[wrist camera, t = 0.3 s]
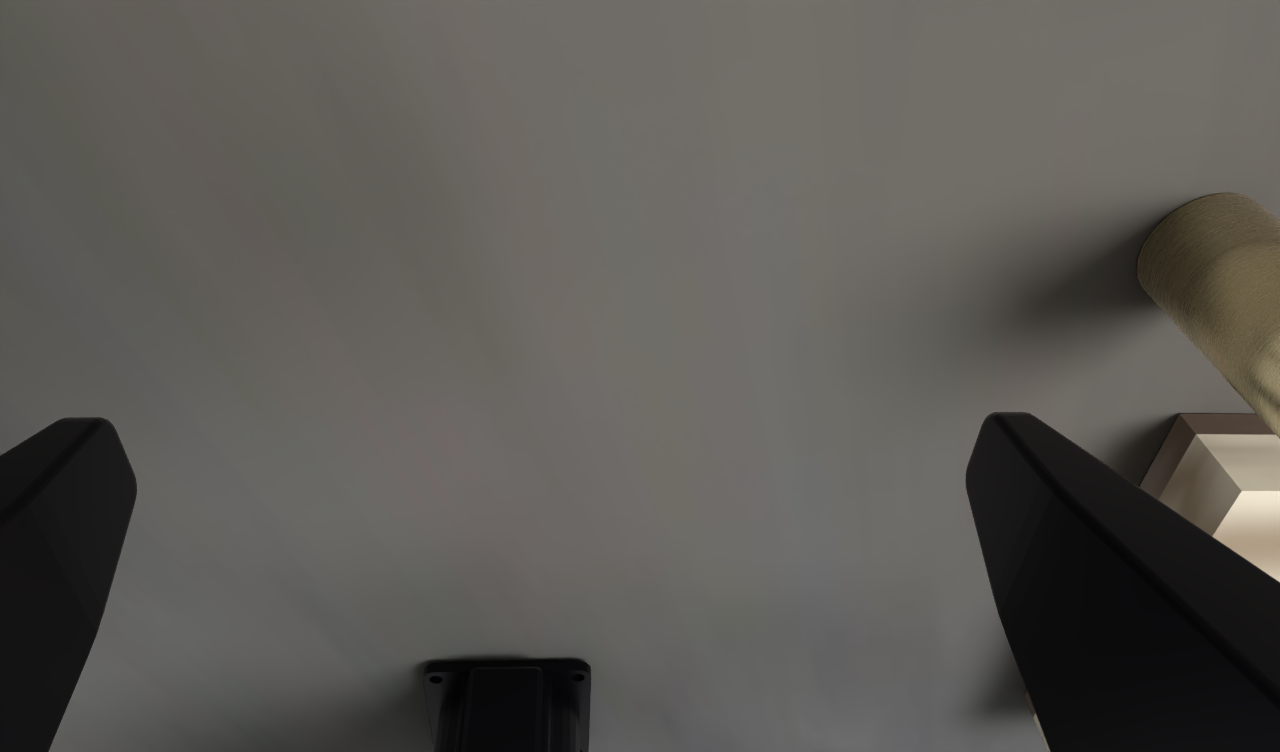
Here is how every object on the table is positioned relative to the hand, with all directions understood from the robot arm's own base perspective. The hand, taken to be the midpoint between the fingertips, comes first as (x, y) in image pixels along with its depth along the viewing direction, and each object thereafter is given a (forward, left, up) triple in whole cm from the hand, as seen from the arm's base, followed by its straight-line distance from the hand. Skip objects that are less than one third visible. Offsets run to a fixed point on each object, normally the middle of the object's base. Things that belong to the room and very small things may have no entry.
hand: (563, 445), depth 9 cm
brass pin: (-5, -18, -14) cm, 23 cm away
